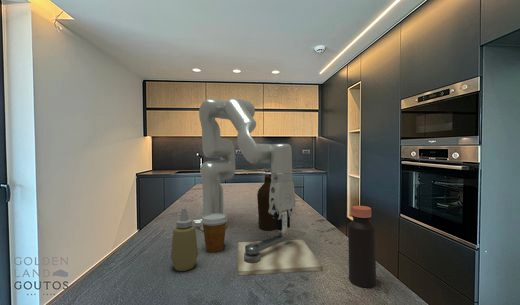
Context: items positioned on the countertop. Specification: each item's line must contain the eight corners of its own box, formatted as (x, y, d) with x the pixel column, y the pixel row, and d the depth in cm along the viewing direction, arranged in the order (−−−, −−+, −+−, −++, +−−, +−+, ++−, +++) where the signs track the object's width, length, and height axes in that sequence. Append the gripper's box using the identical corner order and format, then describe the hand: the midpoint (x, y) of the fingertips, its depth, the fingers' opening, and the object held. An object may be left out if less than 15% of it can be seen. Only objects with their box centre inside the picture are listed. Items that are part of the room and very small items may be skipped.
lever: (251, 257, 72) (251, 219, 72) (242, 252, 76) (242, 216, 76) (290, 240, 86) (290, 208, 86) (281, 237, 89) (280, 206, 89)
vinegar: (382, 285, 62) (381, 209, 62) (360, 290, 60) (359, 211, 60) (363, 273, 69) (363, 204, 69) (343, 277, 67) (342, 205, 67)
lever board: (238, 275, 68) (238, 264, 68) (238, 245, 90) (237, 237, 90) (322, 270, 71) (322, 260, 71) (302, 242, 92) (302, 234, 92)
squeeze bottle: (183, 276, 68) (182, 213, 68) (165, 269, 72) (164, 210, 72) (203, 264, 75) (203, 207, 75) (186, 259, 79) (185, 205, 79)
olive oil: (255, 230, 107) (254, 175, 107) (259, 223, 118) (259, 173, 118) (278, 231, 105) (278, 175, 105) (281, 224, 116) (280, 173, 116)
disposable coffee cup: (218, 241, 94) (217, 211, 94) (233, 248, 87) (232, 216, 87) (196, 248, 87) (196, 216, 87) (210, 256, 81) (210, 221, 81)
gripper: (274, 180, 78) (275, 236, 78) (303, 176, 89) (304, 225, 89) (258, 179, 83) (258, 231, 83) (287, 175, 95) (288, 221, 95)
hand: (282, 227), depth 86 cm, fingers closed on lever, 3 cm apart
